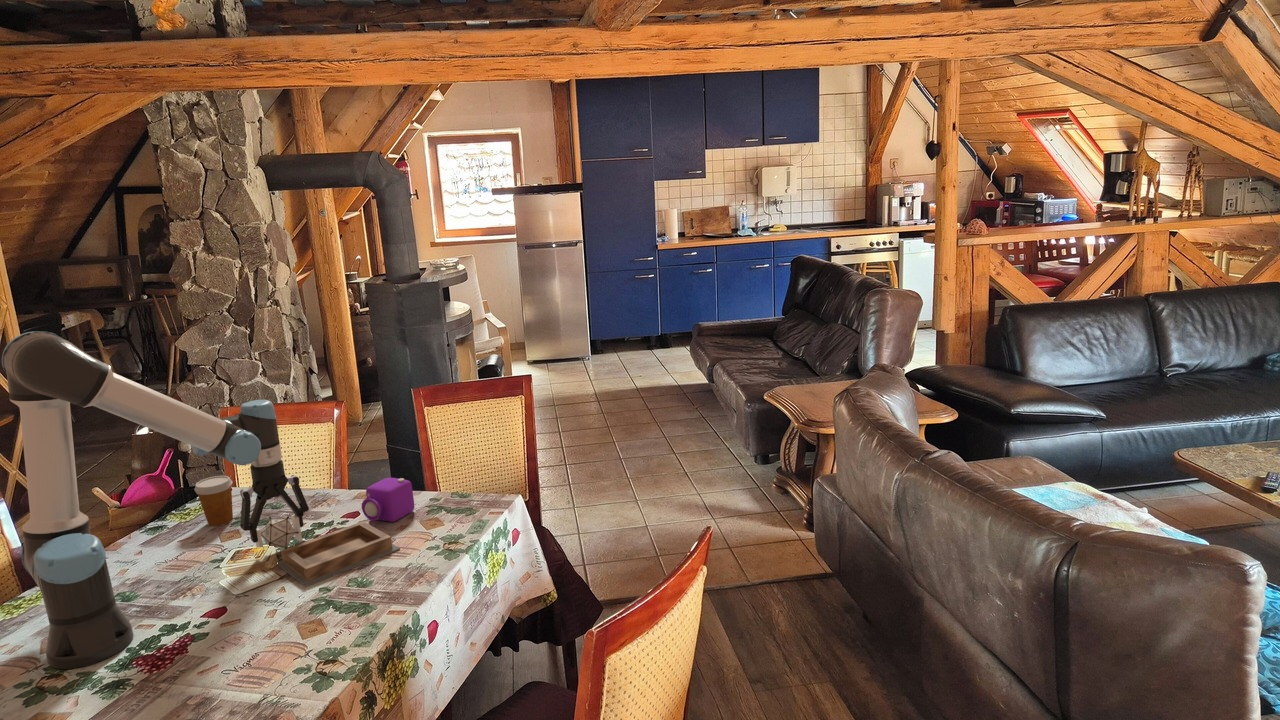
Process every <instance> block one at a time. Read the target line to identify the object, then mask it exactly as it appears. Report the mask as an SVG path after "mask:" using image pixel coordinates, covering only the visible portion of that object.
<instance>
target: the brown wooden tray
mask: <svg viewBox="0 0 1280 720" xmlns="http://www.w3.org/2000/svg"><path fill="white" fill-rule="evenodd" d="M392 542H393V541H392V536H390V535H389V534H387V533H385V532H383V531H382V530H379V529H378V528H376V527H375V526H373V525H371V524H369V523H367V522H365V521H360V522H357V523H354V524H352V525H349V526H346V527H344V528H340V529H337V530H335V531H332V532H329V533H327V534H324V535H321V536H317V537H315V538H313V539H310V540H307V541H304V542H301V543H299V544H297V545H293V546H290V547H287V549H282V550H280V553H281V554H280V555H281V560H283V563H284V564H286V565H287V566H288V567H290V568H291V569H292V570H294V571H295V572H296V573H298V574H299V575H300V576H302V577H303V578H304V579H306V580H307V581H310V580H313V579H315V578H318V577H320V576H323V575H325V574H328V573H331V572H333V571H336V570H338V569H341V568H343V567H346V566H348V565H351V564H354V563H356V562H359V561H361V560H364V559H366V558H369V557H371V556H374V555H377V554H379V553H382V552H384V551H387V550H389V549H392V548H393V547H392V544H393V543H392Z"/></svg>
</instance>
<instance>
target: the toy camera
mask: <svg viewBox="0 0 1280 720" xmlns="http://www.w3.org/2000/svg"><path fill="white" fill-rule="evenodd" d="M365 490H366V491H365V494H366V498H365V499H363V501H362V503H361V511H362V512H363V513H362V514H363V515H364V517H365V518H366V519H368V520H369V521H371V522H375V521H377V520H378V521H383V522H392V523H393V522H397V520H399V519H402V518H403V517H405V516H407V515H409V514H411V513H412V512H414V510H415V507H416V506H415V498H414V493H413V485H412V482H411V481H410V480H408V479H405V478H403V477H400V478H398V477H397V478H396V477H385V478H383V479H381V480H380V481H377V482H375V483H373V484H371V485H369V486H368V487H367V488H366V489H365Z"/></svg>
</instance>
